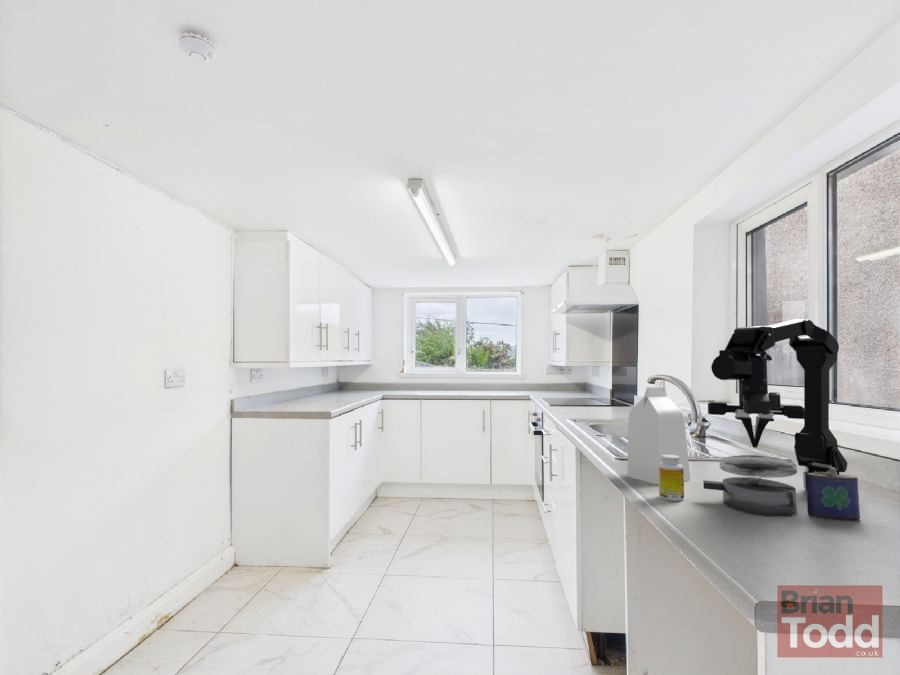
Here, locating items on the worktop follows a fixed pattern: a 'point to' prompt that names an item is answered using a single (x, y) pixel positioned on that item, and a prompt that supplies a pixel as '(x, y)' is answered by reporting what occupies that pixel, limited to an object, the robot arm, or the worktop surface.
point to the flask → (832, 495)
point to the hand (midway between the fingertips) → (754, 447)
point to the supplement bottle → (671, 478)
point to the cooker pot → (756, 495)
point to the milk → (655, 435)
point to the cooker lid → (758, 466)
